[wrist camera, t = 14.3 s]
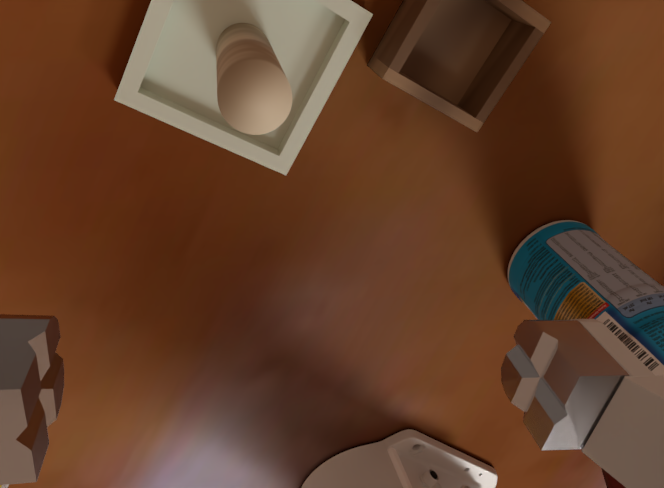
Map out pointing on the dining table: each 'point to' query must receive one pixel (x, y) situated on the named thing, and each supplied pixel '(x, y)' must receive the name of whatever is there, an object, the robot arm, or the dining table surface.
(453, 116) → the open square box
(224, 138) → the tray
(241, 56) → the dowel
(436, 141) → the dining table surface
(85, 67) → the dining table surface
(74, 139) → the dining table surface
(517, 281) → the beverage bottle
